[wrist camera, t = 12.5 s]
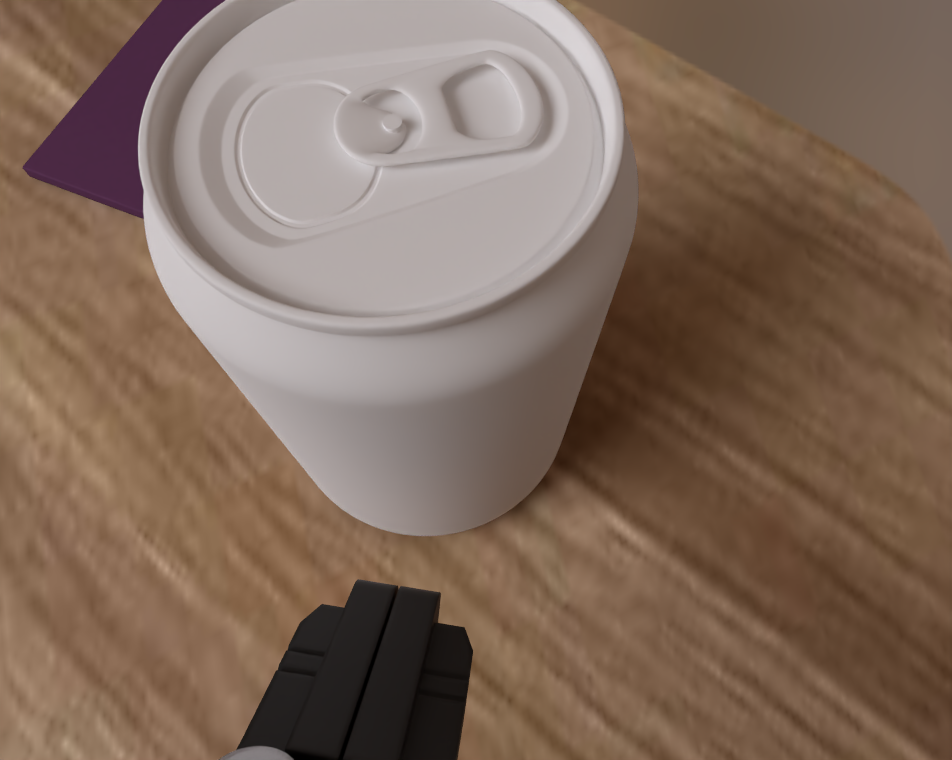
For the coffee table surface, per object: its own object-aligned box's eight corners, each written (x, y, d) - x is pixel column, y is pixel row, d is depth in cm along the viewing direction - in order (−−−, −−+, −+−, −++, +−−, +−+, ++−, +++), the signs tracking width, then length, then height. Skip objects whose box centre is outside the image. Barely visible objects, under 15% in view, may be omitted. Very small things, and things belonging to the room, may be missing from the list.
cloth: (465, 60, 27) (465, 49, 27) (333, 291, 23) (330, 282, 23) (195, -23, 29) (190, -35, 28) (29, 176, 25) (21, 167, 24)
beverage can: (277, 324, 22) (84, -21, 11) (519, 265, 23) (558, -107, 12) (324, 575, 19) (125, 434, 8) (602, 497, 20) (752, 276, 9)
